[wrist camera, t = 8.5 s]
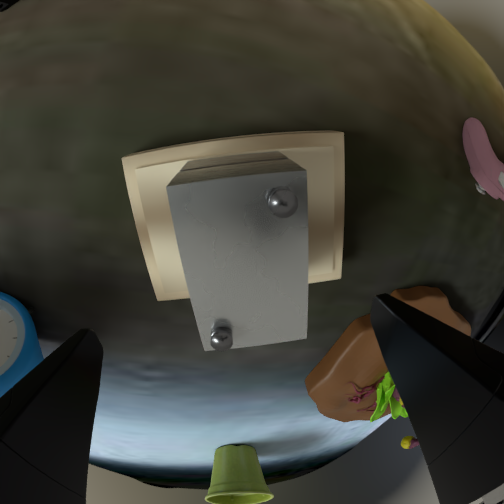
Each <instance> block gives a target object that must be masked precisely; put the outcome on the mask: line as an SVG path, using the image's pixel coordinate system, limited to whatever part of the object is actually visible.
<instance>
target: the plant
mask: <svg viewBox="0 0 504 504" xmlns="http://www.w3.org/2000/svg"><path fill="white" fill-rule="evenodd" d="M391 296H393V297H395V298H397V299H399V300H401V301H403V302H405V303H407V304H409V305H411V306H413V307H414V308H416V309H418V310H420V311H422V312H424V313H426V314H428V315H430V316H432V317H434V318H436V319H438V320H440V321H442V322H443V323H445V324H447V325H449V326H451V327H453V328H455V329H457V330H459V331H461V332H463V333H464V334H466V335H468V336H470V334H471V326H470V324H469V323H468V322H467V320H466V319H465V318H464V317H463V316H462V315H461V314H460V313H458V312H456V311H454V310H453V309H452V308H451V307H450V305H449V302H448V299H447V297H446V295H445V294H444V293H443V292H442V291H441V290H440V289H439V288H437V287H432V288H431V287H427V286H416V287H413V288H409V289H395V290H394V291H393V292H392V293H391ZM370 314H371V313H370ZM370 314H368V315H365V316H362V317H359V318H357V319H356V320H354V321H353V322H352V323H351V324H350V325H349V326H348V327H347V329H346V330H345V331H344V333H343V334H342V335H341V337H340V338H339V339H338V340H337V341H336V343H335V344H334V345H333V346H332V348H331V349H330V350H329V351H328V353H327V354H326V355H325V356H324V358H323V359H322V360H321V361H320V362H319V363H318V364H317V365H316V367H315V368H314V369H313V370H312V371H311V372H310V374H309V375H308V376H307V377H306V379H305V384H306V387H307V391H308V395H309V396H310V397H311V398H312V399H313V401H314V402H315V403H316V405H317V408H318V411H319V412H320V413H321V414H323V415H324V416H326V417H329V418H332V419H335V420H338V421H342V422H349V421H354V420H370V422H372V421H375V420H377V419H379V418H381V417H383V416H386V415H388V414H390V413H391V414H392V418H393V419H396V418H397V417H398V416H399V415H401V416H402V417H408V414H407V412H406V409H405V407H404V405H403V402H402V400H401V398H400V395H399V393H398V391H397V389H396V386H395V384H394V382H393V380H392V377H391V375H390V373H389V371H388V369H387V366H386V364H385V362H384V359H383V356H382V353H381V350H380V348H379V345H378V342H377V339H376V336H375V333H374V330H373V327H372V325H371V321H370ZM401 445H402V447H403V448H405V449H410V448H413V447H416V446H417V445H419V442H418V439H415V438H414V437H413V436H406V437H404V438H403V439H402V442H401Z"/></svg>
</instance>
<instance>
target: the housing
mask: <svg viewBox="0 0 504 504" xmlns="http://www.w3.org/2000/svg"><path fill="white" fill-rule="evenodd" d="M166 190H167V195H168V201H169V206H170V211H171V216H172V221H173V226H174V231H175V235H176V240H177V245H178V249H179V254H180V258H181V263H182V267H183V271H184V275H185V280H186V284H187V288H188V292H189V296H190V300H191V303H192V307H193V311H194V315H195V319H196V322H197V326H198V330H199V333H200V337H201V340H202V344H203V347H204V351H210V350H218V351H226V350H229V349H231V348H241V347H249V346H258V345H265V344H273V343H280V342H287V341H293V340H299V339H305V338H307V315H308V193H307V170H305V169H304V168H302V167H301V166H300V165H298V164H297V163H295V162H294V161H292V160H291V159H288V157H286V156H285V155H283V154H282V153H280V152H279V151H271V152H259V153H249V154H239V155H231V156H222V157H215V158H207V159H200V160H193V161H188V162H187V163H186V164H185V165H184V166H183V167H182V168H181V170H180V172H178V173H177V174H176V175H175V177H174V178H173V179H172V180H171V181H170V183H169V184H168V185H167V186H166Z"/></svg>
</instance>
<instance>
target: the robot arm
mask: <svg viewBox="0 0 504 504" xmlns="http://www.w3.org/2000/svg"><path fill="white" fill-rule="evenodd" d="M17 1H18V0H0V12H2V11H4V10H5V9H7V8H8V7H9V6H11V5H12V4H14V3H15V2H17ZM370 321H371V325H372V327H373V330H374V333H375V336H376V339H377V342H378V345H379V348H380V350H381V353H382V356H383V359H384V362H385V364H386V366H387V369H388V371H389V373H390V375H391V377H392V380H393V382H394V384H395V386H396V389H397V391H398V393H399V395H400V398H401V400H402V402H403V405H404V407H405V409H406V412H407V414H408V417H409V419H410V421H411V424H412V426H413V429H414V431H415V434H416V437H417V439H418V442H419V444H420V447H421V450H422V452H423V455H424V458H425V460H426V463H427V465H428V469H429V472H430V475H431V478H432V481H433V484H434V487H435V490H436V493H437V496H438V499H439V503H440V504H469V503H471V502H473V501H475V500H477V499H479V498H480V497H482V499H483V502H481V503H480V504H504V353H502V352H499V351H497V350H495V349H493V348H491V347H489V346H487V345H485V344H483V343H481V342H479V341H478V340H476V339H474V338H473V339H472V337H470V336H468V335H466V334H464V333H463V332H461V331H459V330H457V329H455V328H453V327H451V326H449V325H447V324H445V323H443V322H442V321H440V320H438V319H436V318H434V317H432V316H430V315H428V314H426V313H424V312H422V311H420V310H418V309H416V308H414V307H413V306H411V305H409V304H407V303H405V302H403V301H401V300H399V299H397V298H395V297H393V296H391V295H389V294H386V293H384V294H379V295H376V296H375V297H374V298H373V303H372V308H371V314H370ZM102 360H103V347H102V345H101V343H100V341H99V339H98V338H97V336H96V334H95V332H94V331H93V330H92V329H80V330H79V331H78V332H77V333H75V334H74V335H73V336H72V337H70V338H69V339H68V340H67V341H66V342H64V343H63V344H62V345H61V346H60V347H58V348H57V349H56V350H55V351H53V352H52V353H51V354H50V355H49V356H48V357H46V358H45V359H44V360H43V361H42V362H40V363H39V364H38V365H37V366H36V367H35V368H33V369H32V370H31V371H30V372H29V373H28V374H26V375H25V376H24V377H23V378H22V379H21V380H20V381H18V382H17V383H16V384H15V385H14V386H13V388H10V389H9V390H8V391H7V392H6V393H5V394H4V395H3V396H1V397H0V504H86V487H87V474H88V463H89V454H90V445H91V438H92V431H93V424H94V418H95V412H96V406H97V401H98V395H99V388H100V378H101V369H102Z"/></svg>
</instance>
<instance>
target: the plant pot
mask: <svg viewBox="0 0 504 504" xmlns="http://www.w3.org/2000/svg"><path fill="white" fill-rule="evenodd" d="M273 497H274V495H273V494H272V493H270V491H269V488H268V486H267V485H266V484H265V480H264V477H263V474H262V471H261V467H260V464H259V460H258V457H257V453H256V450H255V449H254V448H253V447H251V446H247V445H241V446H234V445H226V446H223V447H220V448H218V449H216V451H215V455H214V463H213V471H212V478H211V486H210V488H209V490H208V495H207V496H206V497H205V500H206V501H207V502H210V503H214V504H256V503H261V502H265V501H268V500H270V499H272V498H273Z"/></svg>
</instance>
